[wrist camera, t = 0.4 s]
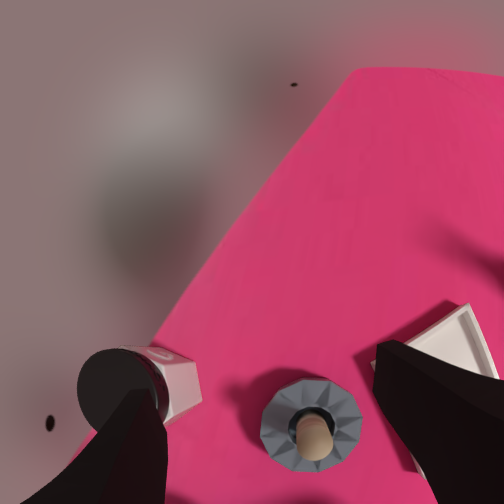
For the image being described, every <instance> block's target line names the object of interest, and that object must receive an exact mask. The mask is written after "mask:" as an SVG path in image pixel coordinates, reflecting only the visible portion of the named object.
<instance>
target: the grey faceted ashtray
mask: <svg viewBox="0 0 504 504" xmlns="http://www.w3.org/2000/svg"><path fill="white" fill-rule="evenodd" d="M309 409H313V410H317V411H319V412H320V413H321V414H322V415H323V417H324V419H325V422H326V424H327V427H328V429H329V432H330V434H331V436H332V439H333V448H332V450H331V452H330V453H329V454H328V455H327V456H326V457H325V458H323V459H320V460H316V461H310V460H307V459H304V458H303V457H302V456H300V454H299V453H298V451H297V438H296V421H297V418H298V416H299V415H300V414H301V413H302V412H303V411H305V410H309ZM362 418H363V417H362V415H361V412H360V410H359V408H358V406H357V404H356V402H355V399H354V397H353V395H352V394H351V393H349V392H348V391H347V390H345V389H344V388H342V387H340V386H339V385H337V384H336V383H334V382H333V381H331V380H329V379H328V378H310V377H302V378H300V379H298V380H295V381H293V382H291V383H289V384H287V385H284V386H282V387H280V388H279V389H278V391H277V392H276V393H275V395H274V396H273V397H272V399H271V400H270V401H269V403H268V404H267V405H266V406H265V408H264V410H263V412H262V421H261V430H260V438H261V440H262V442H263V444H264V446H265V448H266V450H267V452H268V454H269V456H270V458H272V459H273V460H275V461H276V462H278V463H280V464H281V465H283V466H285V467H286V468H288V469H290V470H291V471H300V472H320V471H323V470H325V469H327V468H330V467H332V466H334V465H336V464H339V463H341V462H343V461H344V460H345V458H346V457H347V456H348V455H349V453H350V452H351V451H352V450H353V448H354V447H355V446H356V445H357V443H358V442H359V439H360V432H361V425H362Z"/></svg>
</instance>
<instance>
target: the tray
mask: <svg viewBox="0 0 504 504" xmlns="http://www.w3.org/2000/svg"><path fill="white" fill-rule="evenodd" d="M404 344H406V345H408V346H411V347H413V348H415V349H417V350H420V351H422V352H424V353H426V354H429V355H431V356H433V357H435V358H438V359H440V360H443V361H445V362H447V363H450V364H452V365H455V366H458V367H460V368H463V369H466V370H469V371H472V372H475V373H478V374H481V375H484V376H488V377H492V378H496V379H499V376H498V373H497V370H496V368H495V365H494V362H493V359H492V357H491V354H490V351H489V349H488V346H487V344H486V341H485V339H484V336H483V334H482V332H481V329H480V327H479V324H478V322H477V320H476V318H475V315H474V313H473V311H472V309H471V306H470V304H469V303H466V304H463V305H460V306H459V307H457V308H456V309H454V310H453V311H451V312H450V313H449V314H447V315H446V316H444V317H443V318H441V319H440V320H438V321H437V322H435V323H434V324H433V325H431V326H429V327H428V328H426V329H425V330H423V331H422V332H420V333H419V334H417V335H416V336H414V337H412V338H411V339H409V340H408V341H406V342H404ZM375 363H376V360H374V361H372V362H370V364H371V366H372V368H373V370H374V372H375ZM409 452H410V451H409ZM410 454H411V452H410ZM411 457H412V459H413V461H414V464H415V466H416V469H417V471H418V473H419V474H420V475H421V476H422V477H423V478H424V479H426V477H425V475H424V473H423V471H422V469H421V468H420V466H419V464H418V463H417V461H416V459H415V458H414V457H413V455H412V454H411Z"/></svg>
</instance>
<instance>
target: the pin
mask: <svg viewBox="0 0 504 504" xmlns="http://www.w3.org/2000/svg"><path fill="white" fill-rule="evenodd" d="M296 438H297V451H298V453H299V454H300V456H302V457H303V458H304V459H307V460H310V461H316V460H320V459H323V458H325V457H326V456H327V455H328V454H329V453H330V452H331V450H332V448H333V439H332V436H331V434H330V432H329V429H328V427H327V424H326V422H325V419H324V417H323V415H322V414H321V413H320V412H319V411H317V410H313V409H309V410H305V411H303V412H302V413H301V414H300V415H299V416H298V418H297V421H296Z"/></svg>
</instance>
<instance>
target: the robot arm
mask: <svg viewBox="0 0 504 504" xmlns="http://www.w3.org/2000/svg"><path fill="white" fill-rule="evenodd" d="M373 393H374V395H375V398H376V400H377V402H378V404H379V406H380V408H381V410H382V411H383V413H384V415H385V417H386V418H387V420H388V421H389V422H390V424H391V425H392V427H393V428H394V430H395V431H396V433H397V434H398V435H399V437H400V438H401V440H402V441H403V442H404V444H405V445H406V447H407V448H408V449H409V451H410V452H411V454H412V455H413V457H414V458H415V459H416V461H417V463H418V464H419V466H420V468H421V469H422V471H423V473H424V475H425V477H426V479H427V481H428V483H429V485H430V487H431V489H432V491H433V493H434V496H435V498H436V500H437V502H438V504H504V380H500V379H496V378H492V377H488V376H484V375H481V374H478V373H475V372H472V371H469V370H466V369H463V368H460V367H458V366H455V365H452V364H450V363H447V362H445V361H443V360H440V359H438V358H435V357H433V356H431V355H429V354H426V353H424V352H422V351H420V350H417V349H415V348H413V347H411V346H408V345H406V344H404V343H401V342H399V341H396V340H390V341H386V342H383V343H380V344H377V352H376V363H375V373H374V383H373ZM167 466H168V444H167V431H166V429H165V427H164V425H163V422H162V420H161V418H160V415H159V413H158V410H157V408H156V406H155V403H154V401H153V398H152V396H151V393H150V390H149V388H145V389H133V390H130V391H129V392H128V393H127V394H126V396H125V397H124V398H123V400H122V401H121V402H120V404H119V405H118V406H117V408H116V409H115V410H114V412H113V413H112V415H111V416H110V417H109V419H108V420H107V421H106V422H105V424H104V425H103V426H102V428H101V429H100V430H99V431H98V433H97V434H96V435H95V437H94V438H93V439H92V440H91V441H90V442H89V443H88V445H87V446H86V447H85V448H84V449H83V450H82V452H81V453H80V454H79V455H78V456H77V457H76V458H75V459H74V460H73V461H72V462H71V463H70V464H69V465H68V466H67V467H66V468H65V469H64V470H63V471H62V472H61V473H60V474H59V475H58V476H57V477H55V478H54V479H53V480H52V481H51V482H50V483H48V484H47V485H46V486H44V487H43V488H42V489H40V490H39V491H38V492H36V493H35V494H34V495H32V496H31V497H30V498H28V499H27V500H25V501H23V502H22V503H20V504H164V501H165V489H166V478H167Z"/></svg>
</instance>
